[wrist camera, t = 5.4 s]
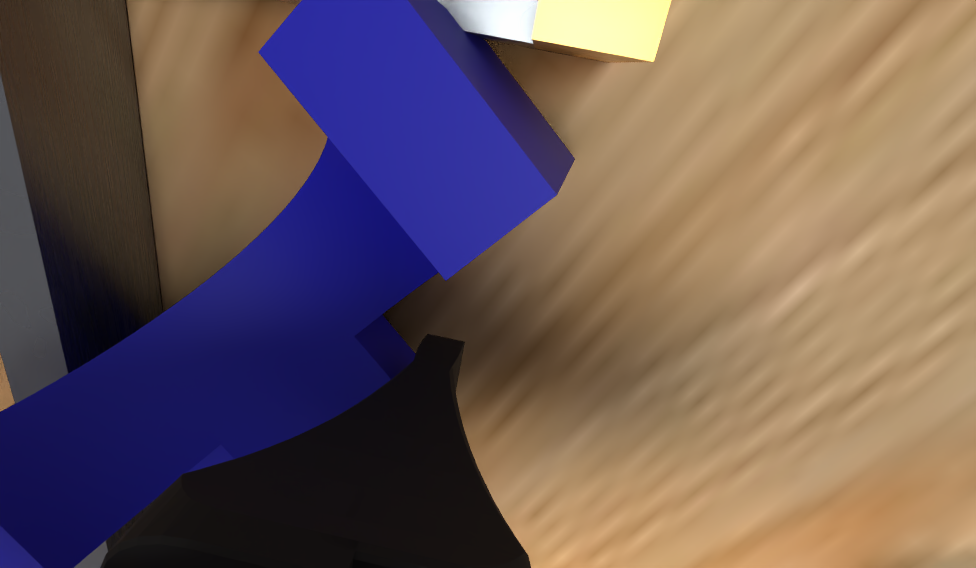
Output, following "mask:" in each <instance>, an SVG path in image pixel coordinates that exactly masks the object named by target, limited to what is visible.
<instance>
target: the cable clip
mask: <svg viewBox="0 0 976 568" xmlns="http://www.w3.org/2000/svg"><path fill="white" fill-rule="evenodd" d="M259 54H260V55H261V56H262V57H263V58H264V60H265V61H266V62H267V63H268V65H269V66H270V67H271V68H272V69H273V71H274V72H275V73H276V74H277V76H278V77H279V78H280V79H281V80H282V82H283V83H284V84H285V85H286V87H287V88H288V89H289V90H290V91H291V93H292V94H293V95H294V96H295V98H296V99H297V100H298V101H299V102H300V104H301V105H302V106H303V107H304V109H305V110H306V111H307V112H308V113H309V115H310V116H311V117H312V118H313V120H314V121H315V122H316V123H317V124H318V126H319V127H320V128H321V129H322V130H323V132H324V133H325V134H326V135H327V137H328V138H327V142H326V145H325V148H324V150H323V152H322V155H321V157H320V159H319V161H318V163H317V164H316V166H315V168H314V170H313V172H312V173H311V175H310V176H309V178H308V179H307V181H306V182H305V184H304V185H303V186H302V188H301V189H300V190H299V192H298V193H297V194H296V196H295V197H294V198H293V199H292V200H291V202H290V203H289V204H288V205H287V206H286V208H285V209H284V210H283V211H282V212H281V213H280V214H279V215H278V216H277V217H276V219H275V220H274V221H273V222H272V223H271V224H270V225H269V226H268V227H267V228H266V229H265V230H264V231H263V232H262V233H261V234H260V235H259V236H258V237H257V238H256V239H255V240H253V241H252V242H251V243H250V244H249V245H248V246H247V247H246V248H245V249H244V250H243V251H241V252H240V253H239V254H238V255H237V256H236V257H234V258H233V259H232V260H231V261H230V262H229V263H228V264H226V265H225V266H224V267H223V268H221V269H220V270H219V271H218V272H217V273H215V274H214V275H213V276H212V277H210V278H209V279H208V280H207V281H205V282H204V283H203V284H201V285H200V286H199V287H198V288H196V289H195V290H194V291H192V292H191V293H190V294H188V295H187V296H186V297H184V298H183V299H182V300H180V301H179V302H177V303H176V304H175V305H173V306H172V307H171V308H169V309H168V310H166V311H165V312H164V313H162V314H161V315H159V316H158V317H156V318H155V319H154V320H152V321H151V322H149V323H148V324H146V325H145V326H143V327H142V328H140V329H139V330H137V331H136V332H134V333H133V334H131V335H130V336H128V337H127V338H125V339H124V340H122V341H120V342H119V343H117V344H116V345H114V346H113V347H111V348H110V349H108V350H106V351H105V352H103V353H102V354H100V355H98V356H97V357H95V358H93V359H92V360H90V361H89V362H87V363H85V364H84V365H82V366H80V367H79V368H77V369H75V370H74V371H72V372H70V373H69V374H67V375H65V376H63V377H62V378H60V379H58V380H57V381H55V382H53V383H52V384H50V385H48V386H46V387H44V388H43V389H41V390H39V391H37V392H36V393H34V394H32V395H30V396H29V397H27V398H25V399H23V400H21V401H19V402H18V403H16V404H14V405H12V406H10V407H8V408H7V409H5V410H3V411H1V412H0V568H74V567H75V566H76V565H77V564H79V563H80V562H81V561H82V560H83V559H85V558H86V557H87V556H88V555H89V554H90V553H92V552H93V551H94V550H95V549H96V548H98V547H99V546H100V545H101V544H102V543H103V542H105V541H106V540H107V539H108V538H109V537H111V536H112V535H113V534H114V533H115V532H116V531H118V530H119V529H120V528H121V527H122V526H124V525H125V524H126V523H127V522H128V521H130V520H131V519H132V518H133V517H134V516H136V515H137V514H138V513H139V512H140V511H141V510H143V509H144V508H145V507H146V506H147V505H149V504H150V503H151V502H152V501H153V500H155V499H156V498H157V497H158V496H159V495H160V494H162V493H163V492H164V491H165V490H166V489H167V488H168V487H169V486H170V485H171V484H173V483H174V482H175V481H176V480H177V479H178V478H179V477H180V476H181V475H182V474H184V473H187V472H191V471H195V470H199V469H202V468H205V467H209V466H212V465H216V464H219V463H222V462H226V461H229V460H233V459H236V458H239V457H242V456H245V455H248V454H251V453H254V452H257V451H259V450H262V449H265V448H268V447H270V446H273V445H276V444H278V443H280V442H283V441H285V440H288V439H290V438H293V437H295V436H297V435H300V434H302V433H304V432H306V431H308V430H310V429H312V428H314V427H316V426H318V425H320V424H322V423H324V422H326V421H328V420H330V419H332V418H334V417H336V416H337V415H339V414H341V413H342V412H344V411H346V410H348V409H349V408H351V407H353V406H354V405H356V404H357V403H359V402H360V401H362V400H363V399H365V398H366V397H368V396H369V395H371V394H372V393H373V392H375V391H376V390H378V389H379V388H380V387H382V386H383V385H384V384H386V383H387V382H388V381H390V380H391V379H392V378H394V377H395V376H396V375H397V374H398V373H400V372H401V371H402V370H403V369H404V368H406V367H407V366H408V365H409V364H410V363H411V362H413V361H414V358H415V355H416V354H415V353H414V352H413V350H412V349H411V348H410V347H409V346H408V344H407V343H406V342H405V341H404V340H403V339H402V337H401V336H400V335H399V334H398V333H397V332H396V330H395V329H394V328H393V327H392V326H391V324H390V323H389V322H388V321H387V320H386V319H385V317H384V316H383V315H382V314H383V313H385V312H386V311H387V310H388V309H390V308H391V307H392V306H394V305H395V304H396V303H398V302H399V301H400V300H402V299H403V298H404V297H406V296H407V295H408V294H410V293H411V292H412V291H414V290H415V289H416V288H418V287H419V286H420V285H422V284H423V283H424V282H426V281H427V280H429V279H430V278H431V277H433V276H434V275H436V274H437V273H440V275H441V276H442V277H443V278H444V279H445V281H446V280H448V279H449V278H450V277H451V276H453V275H454V274H455V273H457V272H458V271H459V270H460V269H462V268H463V267H464V266H466V265H467V264H468V263H469V262H471V261H472V260H473V259H475V258H476V257H477V256H479V255H480V254H481V253H482V252H484V251H485V250H486V249H488V248H489V247H490V246H491V245H493V244H494V243H495V242H497V241H498V240H499V239H500V238H502V237H503V236H504V235H506V234H507V233H508V232H510V231H511V230H512V229H513V228H515V227H516V226H517V225H519V224H520V223H521V222H522V221H524V220H525V219H526V218H528V217H529V216H530V215H531V214H533V213H534V212H535V211H537V210H538V209H539V208H541V207H542V206H543V205H544V204H546V203H547V202H548V201H550V200H551V199H552V198H553V197H555V196H556V195H557V194H558V192H559V190H560V188H561V186H562V184H563V182H564V180H565V178H566V176H567V174H568V172H569V170H570V168H571V166H572V164H573V162H574V160H575V158H574V157H573V156H572V154H571V153H570V152H569V150H568V149H567V148H566V146H565V145H564V144H563V143H562V141H561V140H560V139H559V137H558V136H557V135H556V133H555V132H554V131H553V129H552V128H551V127H550V125H549V124H548V123H547V121H546V120H545V119H544V117H543V116H542V115H541V113H540V112H539V111H538V109H537V108H536V107H535V105H534V104H533V103H532V101H531V100H530V99H529V97H528V96H527V95H526V93H525V92H524V91H523V89H522V88H521V87H520V85H519V84H518V83H517V81H516V80H515V79H514V77H513V76H512V75H511V73H510V72H509V71H508V69H507V68H506V67H505V66H504V64H503V63H502V62H501V60H500V59H499V58H498V56H497V55H496V54H495V52H494V51H493V50H492V48H491V47H490V46H489V44H488V43H487V42H486V41H485V40H484V39H483V38H480V37H478V36H476V35H473V34H471V33H468V32H466V31H464V30H463V29H462V28H461V27H460V25H459V24H458V23H457V22H456V20H455V19H454V18H453V16H452V15H451V14H450V12H449V11H448V10H447V9H446V8H445V7H444V6H443V5H442V4H441V3H439V2H438V1H437V0H302V1H301V2H300V3H299V4H298V5H297V7H296V8H295V9H294V10H293V11H292V13H291V14H290V15H289V16H288V17H287V18H286V20H285V21H284V22H283V23H282V24H281V26H280V27H279V28H278V29H277V30H276V32H275V33H274V34H273V35H272V36H271V38H270V39H269V40H268V41H267V42H266V44H265V45H264V46H263V47H262V48H261V49H260V51H259Z"/></svg>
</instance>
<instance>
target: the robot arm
mask: <svg viewBox="0 0 976 568" xmlns="http://www.w3.org/2000/svg"><path fill="white" fill-rule="evenodd" d="M464 343H465V342H463V341H458V340H453V339H449V338H444V337H439V336H435V335H430V334H427V335H426V337H425V338H424V339H423V341H422V342H421V344H420V345H419V347H418V349H417V352H416V355H415V358H414V361H413V362H411V363H410V364H409V365H408V366H407V367H406V368H404V369H403V370H402V371H401V372H400V373H398V374H397V375H396V376H395V377H394V378H392V379H391V380H390V381H388V382H387V383H386V384H384V385H383V386H382V387H380V388H379V389H378V390H376V391H375V392H373V393H372V394H371V395H369V396H368V397H366V398H365V399H363V400H362V401H360V402H359V403H357V404H356V405H354V406H353V407H351V408H349V409H348V410H346V411H344V412H342V413H341V414H339V415H337V416H336V417H334V418H332V419H330V420H328V421H326V422H324V423H322V424H320V425H318V426H316V427H314V428H312V429H310V430H308V431H306V432H304V433H302V434H300V435H297V436H295V437H293V438H290V439H288V440H285V441H283V442H280V443H278V444H276V445H273V446H270V447H268V448H265V449H262V450H259V451H257V452H254V453H251V454H248V455H245V456H242V457H239V458H236V459H233V460H229V461H226V462H222V463H219V464H216V465H212V466H209V467H205V468H202V469H199V470H195V471H191V472H187V473H184V474H182V475H181V476H180V477H179V478H178V479H177V480H176V481H175V482H174V483H173V484H171V485H170V486H169V487H168V488H167V489H166V490H165V491H164V492H163V493H162V494H160V495H159V496H158V498H157V499H156V500H155V501H154V502H153V503H152V504H151V505H150V506H149V507H148V508H147V509H146V510H145V511H144V512H143V513H142V515H141V516H140V517H139V518H138V519H137V520H136V521H135V522H134V523H133V525H132V526H131V527H130V528H129V529H128V530H127V531H126V532H125V533H124V535H123V536H122V537H121V538H120V539H119V540H118V541H117V542H116V543H115V545H114V546H113V547H112V548H111V549H110V550H109V551H108V552H107V553H106V555H105V557H104V560H103V562H102V564H101V567H100V568H531V566H530V561H529V557H528V554H527V553H526V552H525V550H524V549H523V547H522V546H521V544H520V543H519V541H518V540H517V538H516V537H515V535H514V534H513V532H512V531H511V529H510V528H509V526H508V524H507V523H506V521H505V520H504V518H503V516H502V514H501V513H500V511H499V509H498V507H497V506H496V504H495V502H494V500H493V498H492V496H491V494H490V492H489V490H488V488H487V486H486V484H485V482H484V480H483V478H482V476H481V473H480V471H479V469H478V467H477V465H476V462H475V459H474V457H473V454H472V452H471V449H470V446H469V443H468V440H467V437H466V434H465V431H464V428H463V424H462V420H461V416H460V412H459V408H458V403H457V398H456V387H457V381H458V376H459V370H460V365H461V359H462V354H463V348H464Z"/></svg>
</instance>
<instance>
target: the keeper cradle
mask: <svg viewBox="0 0 976 568" xmlns="http://www.w3.org/2000/svg"><path fill="white" fill-rule="evenodd" d="M277 1H283V2H288V3H293V4H299V3H300V2H301V1H302V0H277ZM437 1H438V2H439V3H441V4H442V5H443V6H444V7H445V8H446V9H447V10H448V11H449V12H450V14H451V15H452V16H453V18H454V19H455V20H456V22H457V23H458V24H459V25H460V27H461V28H462V29H463V30H464V31H466V32H468V33H471V34H473V35H476V36H478V37H480V38H483V39H485V40H491V41H496V42H501V43H507V44H512V45H517V46H523V47H528V48H533V49H539V50H544V51H549V52H555V53H560V54H565V55H571V56H576V57H581V58H587V59H592V60H597V61H603V62H608V63H610V62H654V59H655V55H656V52H657V48H658V45H659V41H660V38H661V34H662V31H663V27H664V24H665V20H666V17H667V13H668V10H669V6H670V3H671V0H437ZM162 313H163V311H162V303H161V295H160V286H159V278H158V270H157V262H156V253H155V245H154V237H153V228H152V220H151V212H150V204H149V195H148V187H147V179H146V170H145V162H144V154H143V145H142V137H141V129H140V121H139V112H138V104H137V96H136V87H135V79H134V71H133V63H132V54H131V46H130V38H129V29H128V21H127V13H126V5H125V0H0V353H1V356H2V360H3V363H4V367H5V370H6V374H7V377H8V381H9V384H10V388H11V391H12V395H13V398H14V402H15V404H16V403H18V402H19V401H21V400H23V399H25V398H27V397H29V396H30V395H32V394H34V393H36V392H37V391H39V390H41V389H43V388H44V387H46V386H48V385H50V384H52V383H53V382H55V381H57V380H58V379H60V378H62V377H63V376H65V375H67V374H69V373H70V372H72V371H74V370H75V369H77V368H79V367H80V366H82V365H84V364H85V363H87V362H89V361H90V360H92V359H93V358H95V357H97V356H98V355H100V354H102V353H103V352H105V351H106V350H108V349H110V348H111V347H113V346H114V345H116V344H117V343H119V342H120V341H122V340H124V339H125V338H127V337H128V336H130V335H131V334H133V333H134V332H136V331H137V330H139V329H140V328H142V327H143V326H145V325H146V324H148V323H149V322H151V321H152V320H154V319H155V318H156V317H158V316H159V315H161V314H162ZM157 498H158V497H157ZM157 498H156V499H157ZM156 499H155V500H156ZM155 500H153V501H152V502H151V503H150V504H149V505H147V506H146V507H145V508H144V509H143V510H141V511H140V512H139V513H138V514H137V515H136V516H134V517H133V518H132V519H131V520H130V521H128V522H127V523H126V524H125V525H124V526H122V527H121V528H120V529H119V530H118V531H116V532H115V533H114V534H113V535H112V536H111V537H109V538H108V539H107V540H106V541H105V542H103V543H102V544H101V545H100V546H99V547H98V548H96V549H95V550H94V551H93V552H92V553H90V554H89V555H88V556H87V557H86V558H85V559H83V560H82V561H81V562H80V563H79V564H77V565H76V566H75V567H74V568H100V567H101V564H102V562H103V560H104V557H105V555H106V553H107V552H108V551H109V550H110V549H111V548H112V547H113V546H114V545H115V543H116V542H117V541H118V540H119V539H120V538H121V537H122V536H123V535H124V533H125V532H126V531H127V530H128V529H129V528H130V527H131V526H132V525H133V523H134V522H135V521H136V520H137V519H138V518H139V517H140V516H141V515H142V513H143V512H144V511H145V510H146V509H147V508H148V507H149V506H150V505H151V504H152V503H153V502H154V501H155Z"/></svg>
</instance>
